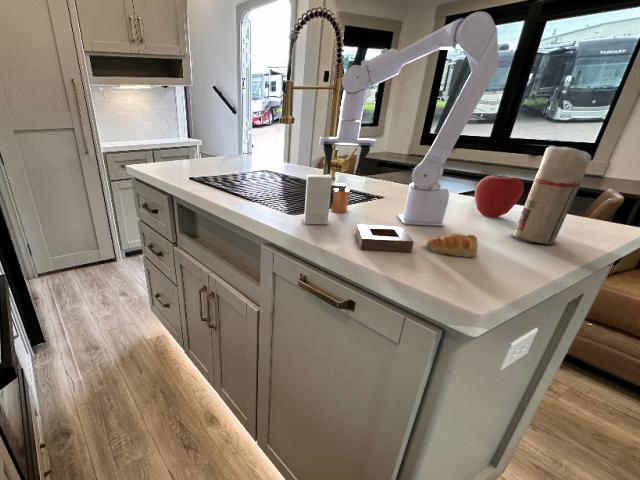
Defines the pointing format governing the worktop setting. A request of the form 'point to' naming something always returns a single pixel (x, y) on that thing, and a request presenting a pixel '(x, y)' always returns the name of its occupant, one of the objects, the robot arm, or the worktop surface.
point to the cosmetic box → (317, 199)
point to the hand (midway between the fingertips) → (341, 173)
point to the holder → (384, 238)
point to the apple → (497, 194)
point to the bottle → (340, 199)
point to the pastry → (454, 245)
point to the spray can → (552, 194)
